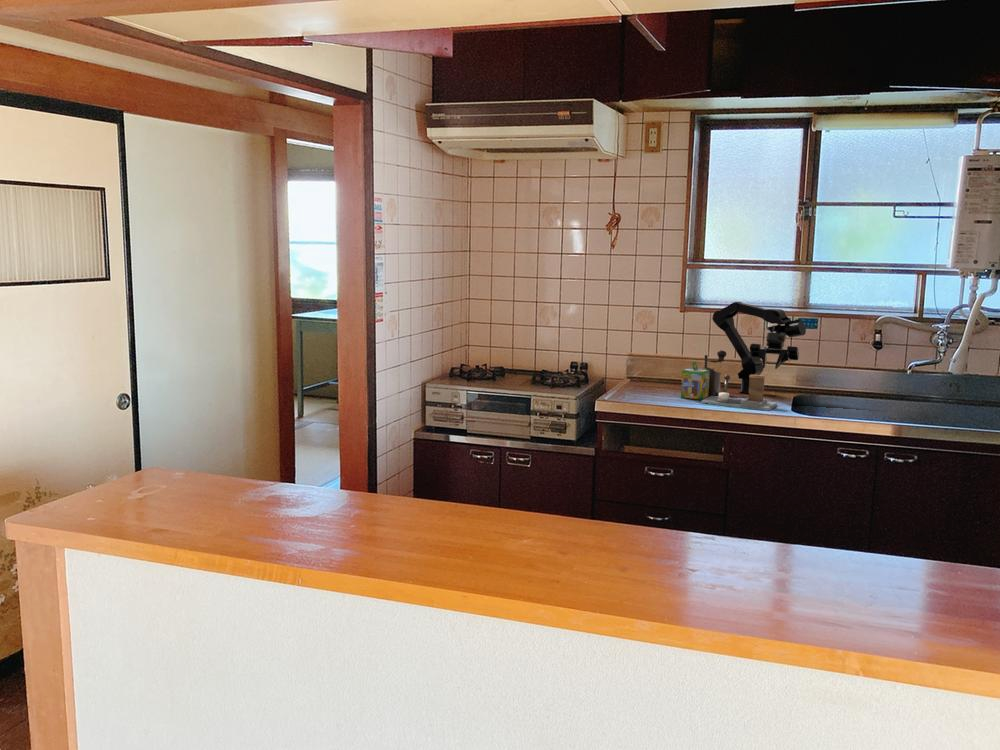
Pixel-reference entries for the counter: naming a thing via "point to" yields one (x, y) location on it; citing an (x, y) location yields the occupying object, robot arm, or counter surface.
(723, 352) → the grey knobbed device
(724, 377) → the dark gray metallic lever
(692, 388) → the chalk box
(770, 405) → the control board
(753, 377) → the brown tall rectangular block
